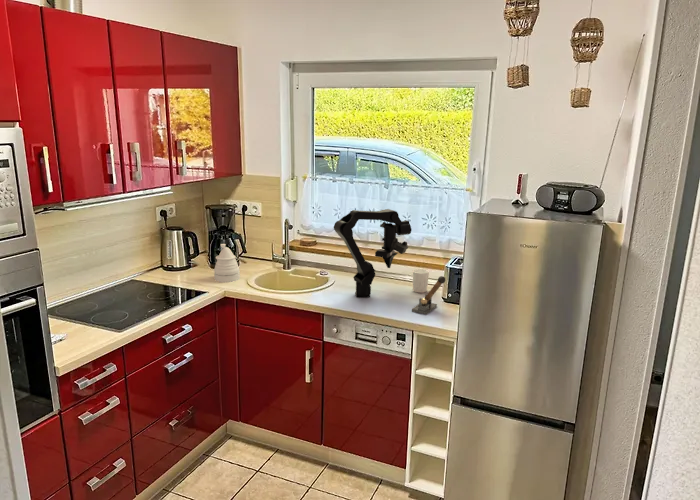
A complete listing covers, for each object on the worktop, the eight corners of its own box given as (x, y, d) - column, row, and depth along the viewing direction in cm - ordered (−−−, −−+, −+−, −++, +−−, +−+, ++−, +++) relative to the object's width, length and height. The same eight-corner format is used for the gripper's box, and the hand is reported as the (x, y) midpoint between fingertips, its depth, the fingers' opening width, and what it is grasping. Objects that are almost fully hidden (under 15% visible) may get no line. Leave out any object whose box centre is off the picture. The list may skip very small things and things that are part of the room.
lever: (420, 301, 232) (439, 275, 225) (423, 298, 235) (442, 273, 228) (425, 306, 231) (445, 280, 224) (428, 303, 235) (448, 278, 227)
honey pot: (209, 279, 269) (207, 245, 265) (227, 273, 280) (225, 241, 276) (227, 283, 263) (225, 249, 259) (245, 277, 273) (243, 244, 269)
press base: (411, 311, 228) (412, 298, 227) (422, 303, 239) (423, 290, 237) (426, 314, 225) (427, 300, 223) (437, 306, 235) (437, 293, 234)
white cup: (427, 293, 253) (428, 273, 250) (411, 292, 254) (411, 272, 252) (428, 288, 260) (429, 269, 258) (412, 287, 262) (413, 268, 259)
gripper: (397, 241, 236) (395, 275, 240) (413, 234, 252) (412, 266, 256) (375, 238, 242) (374, 271, 245) (392, 232, 257) (391, 262, 261)
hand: (388, 267), depth 252 cm, fingers closed
